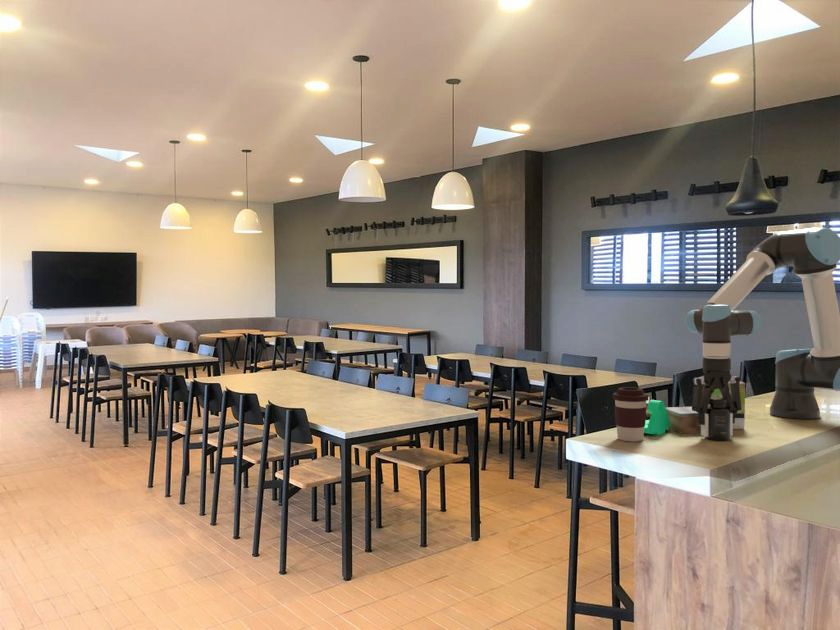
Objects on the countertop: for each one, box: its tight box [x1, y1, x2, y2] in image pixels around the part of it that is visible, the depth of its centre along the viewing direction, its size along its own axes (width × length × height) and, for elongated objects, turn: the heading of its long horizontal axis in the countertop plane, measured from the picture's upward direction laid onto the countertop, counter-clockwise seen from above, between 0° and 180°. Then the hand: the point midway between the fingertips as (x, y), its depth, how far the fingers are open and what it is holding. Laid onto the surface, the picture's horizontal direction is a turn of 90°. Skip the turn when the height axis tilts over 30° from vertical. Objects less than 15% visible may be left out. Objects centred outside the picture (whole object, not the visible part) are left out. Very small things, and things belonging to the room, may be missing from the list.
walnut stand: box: [665, 406, 701, 434], centre depth 204 cm, size 11×11×6 cm
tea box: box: [701, 380, 746, 430], centre depth 210 cm, size 15×10×15 cm, turn 168°
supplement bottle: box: [704, 397, 731, 442], centre depth 189 cm, size 7×7×12 cm
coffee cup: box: [612, 386, 649, 443], centre depth 190 cm, size 10×10×15 cm
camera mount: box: [644, 399, 671, 436], centre depth 200 cm, size 12×8×10 cm, turn 133°
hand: (716, 435), depth 190 cm, fingers closed on supplement bottle, 7 cm apart
